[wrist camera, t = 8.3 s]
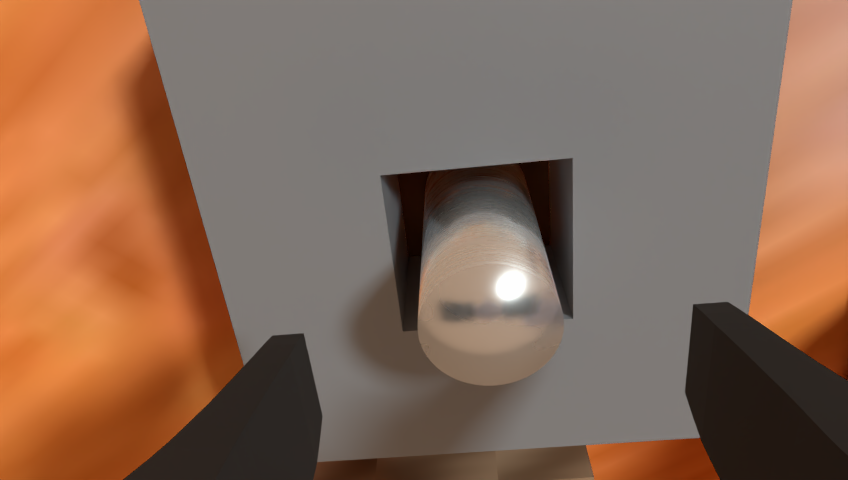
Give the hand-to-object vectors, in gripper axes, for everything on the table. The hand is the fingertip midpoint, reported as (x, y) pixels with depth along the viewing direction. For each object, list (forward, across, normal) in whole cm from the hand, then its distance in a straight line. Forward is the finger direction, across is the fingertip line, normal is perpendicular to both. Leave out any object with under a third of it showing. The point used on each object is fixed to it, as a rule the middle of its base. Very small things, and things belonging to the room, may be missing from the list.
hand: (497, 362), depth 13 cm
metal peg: (+8, 0, 0) cm, 8 cm away
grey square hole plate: (+8, 0, 0) cm, 8 cm away
